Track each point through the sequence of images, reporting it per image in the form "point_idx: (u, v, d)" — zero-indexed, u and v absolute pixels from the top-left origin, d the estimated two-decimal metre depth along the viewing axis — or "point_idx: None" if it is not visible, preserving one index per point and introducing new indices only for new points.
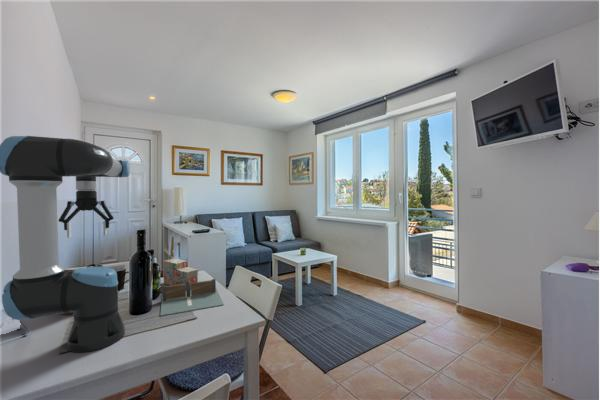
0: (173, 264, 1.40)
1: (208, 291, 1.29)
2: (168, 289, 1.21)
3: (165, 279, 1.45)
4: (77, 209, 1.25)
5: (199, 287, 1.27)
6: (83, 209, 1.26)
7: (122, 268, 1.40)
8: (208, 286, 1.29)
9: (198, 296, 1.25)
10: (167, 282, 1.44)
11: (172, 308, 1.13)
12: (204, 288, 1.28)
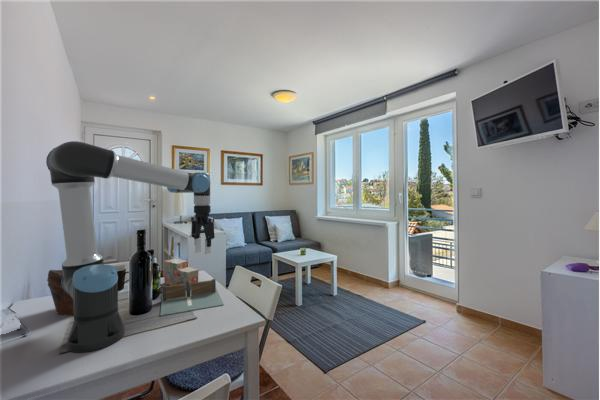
0: (174, 264, 1.40)
1: (208, 291, 1.29)
2: (168, 289, 1.21)
3: (166, 279, 1.45)
4: (196, 224, 1.32)
5: (199, 287, 1.27)
6: (199, 223, 1.32)
7: (122, 268, 1.40)
8: (208, 286, 1.29)
9: (198, 296, 1.25)
10: (168, 282, 1.44)
11: (172, 308, 1.13)
12: (204, 288, 1.28)
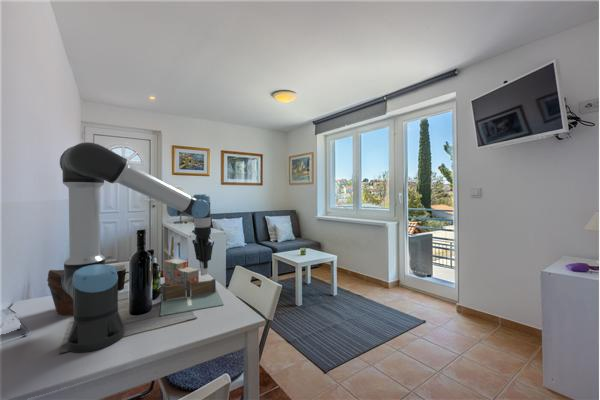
0: (174, 264, 1.40)
1: (208, 291, 1.29)
2: (168, 289, 1.21)
3: (166, 279, 1.45)
4: (198, 245, 1.32)
5: (199, 287, 1.27)
6: None
7: (122, 268, 1.40)
8: (208, 286, 1.29)
9: (198, 296, 1.25)
10: (168, 282, 1.44)
11: (172, 308, 1.13)
12: (204, 288, 1.28)
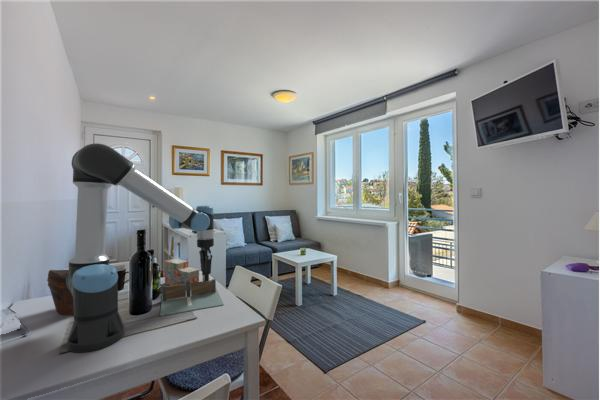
0: (174, 264, 1.40)
1: (208, 291, 1.28)
2: (168, 289, 1.21)
3: (166, 279, 1.44)
4: (201, 257, 1.30)
5: (199, 287, 1.27)
6: None
7: (122, 268, 1.40)
8: (208, 286, 1.28)
9: (198, 296, 1.25)
10: (168, 282, 1.43)
11: (172, 308, 1.13)
12: (204, 288, 1.28)
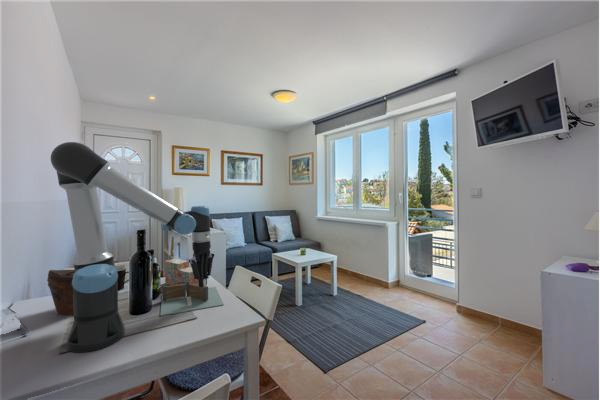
0: (175, 264, 1.40)
1: (200, 297, 1.21)
2: (168, 289, 1.21)
3: (166, 279, 1.44)
4: None
5: (194, 290, 1.23)
6: None
7: (122, 268, 1.40)
8: (200, 292, 1.21)
9: None
10: (168, 282, 1.43)
11: (172, 308, 1.13)
12: (197, 293, 1.22)
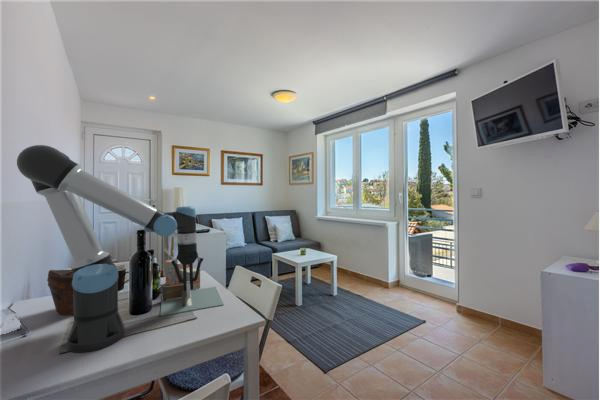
0: None
1: None
2: (168, 289, 1.21)
3: (167, 279, 1.44)
4: None
5: None
6: None
7: (122, 268, 1.40)
8: None
9: (198, 296, 1.25)
10: (169, 282, 1.43)
11: (172, 308, 1.13)
12: None
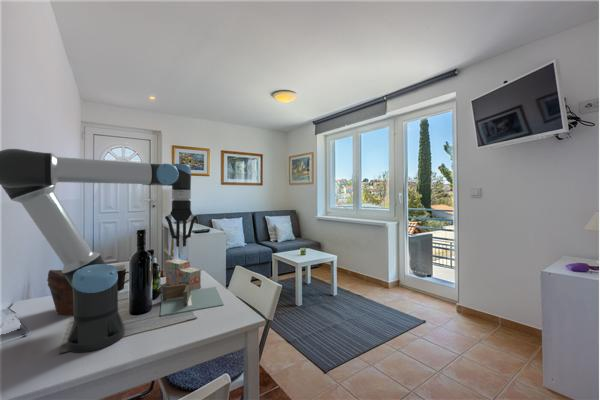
0: (176, 264, 1.39)
1: None
2: (168, 289, 1.21)
3: (167, 280, 1.44)
4: None
5: None
6: None
7: (122, 268, 1.40)
8: None
9: (198, 296, 1.25)
10: (169, 283, 1.43)
11: (172, 308, 1.13)
12: None
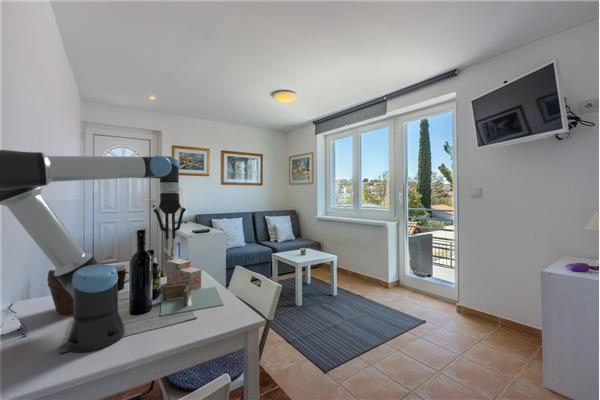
0: (176, 264, 1.40)
1: None
2: (168, 289, 1.21)
3: (168, 279, 1.44)
4: None
5: None
6: None
7: (122, 268, 1.40)
8: None
9: (198, 296, 1.25)
10: (170, 282, 1.43)
11: (172, 308, 1.13)
12: None
